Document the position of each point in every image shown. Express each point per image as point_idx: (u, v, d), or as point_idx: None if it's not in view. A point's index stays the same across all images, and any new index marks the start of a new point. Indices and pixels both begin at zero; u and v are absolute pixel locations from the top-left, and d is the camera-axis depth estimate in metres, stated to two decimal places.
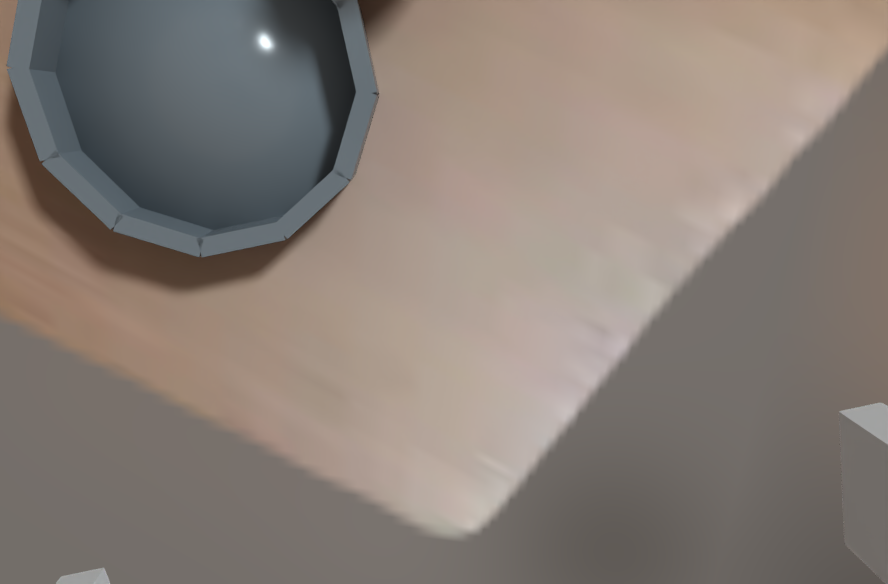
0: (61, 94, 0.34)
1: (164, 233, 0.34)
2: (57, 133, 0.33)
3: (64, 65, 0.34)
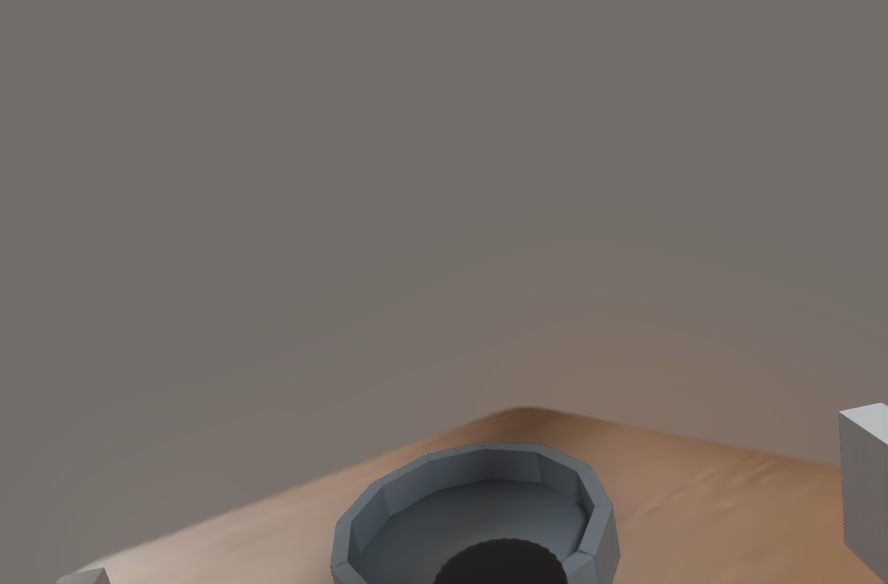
0: (526, 480, 0.48)
1: (401, 473, 0.48)
2: (497, 456, 0.48)
3: (542, 487, 0.47)
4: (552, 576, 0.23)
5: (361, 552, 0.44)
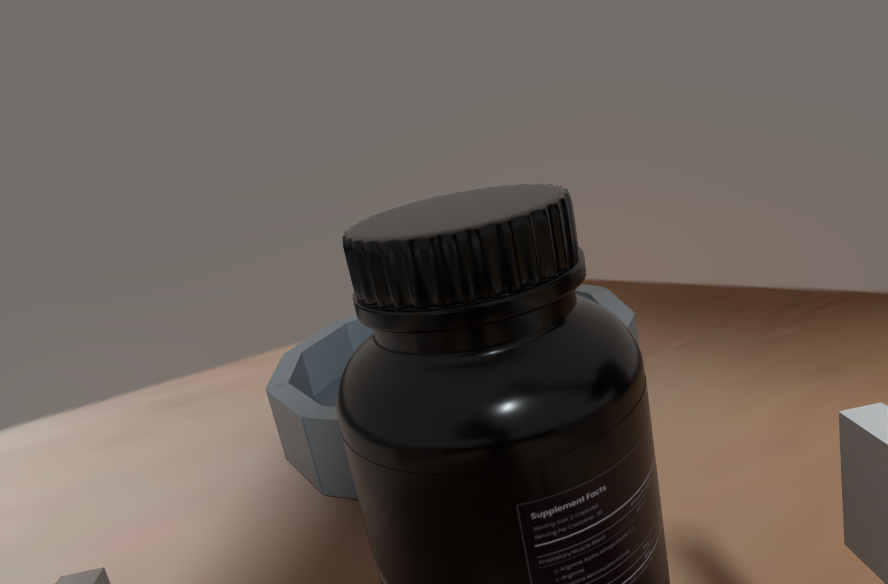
0: None
1: None
2: None
3: None
4: (546, 192, 0.13)
5: (315, 394, 0.35)
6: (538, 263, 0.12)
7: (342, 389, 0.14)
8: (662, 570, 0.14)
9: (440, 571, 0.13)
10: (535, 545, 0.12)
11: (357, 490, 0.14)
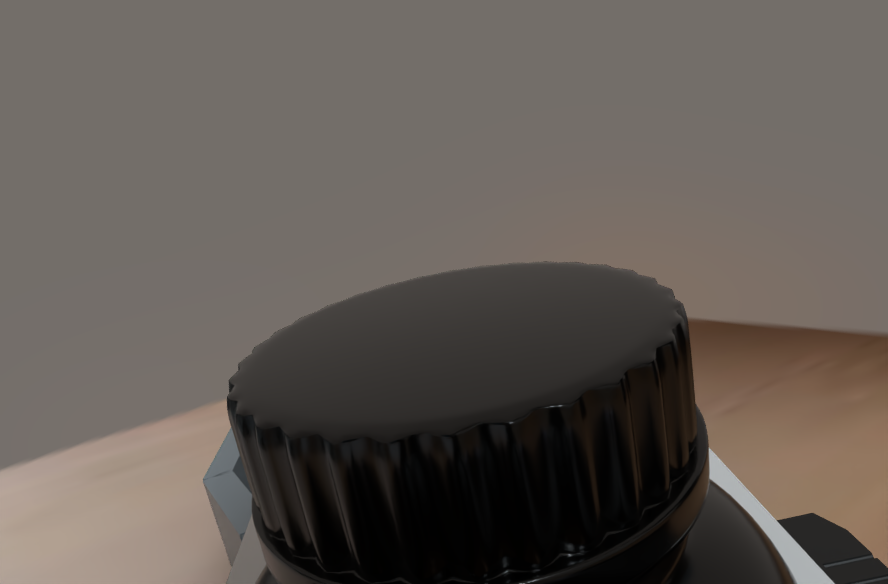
0: None
1: None
2: None
3: None
4: (633, 298, 0.07)
5: None
6: (637, 480, 0.05)
7: None
8: None
9: None
10: None
11: None
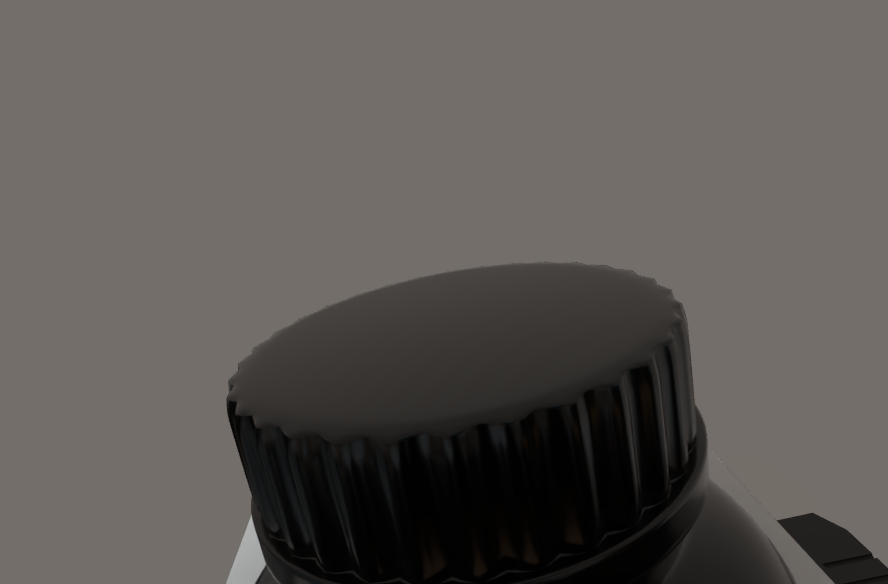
0: None
1: None
2: None
3: None
4: (632, 298, 0.07)
5: None
6: (636, 480, 0.05)
7: None
8: None
9: None
10: None
11: None
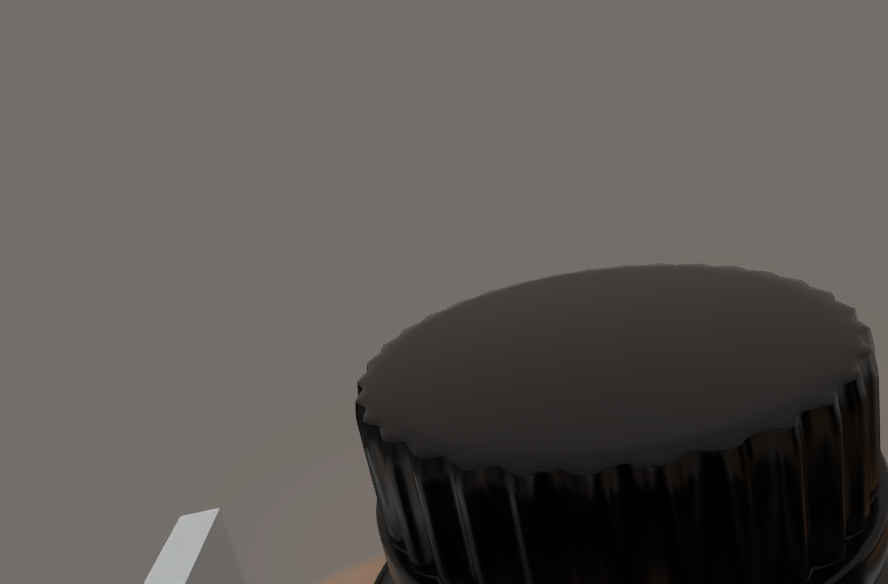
0: None
1: None
2: None
3: None
4: (793, 303, 0.06)
5: None
6: (844, 508, 0.05)
7: None
8: None
9: None
10: None
11: None
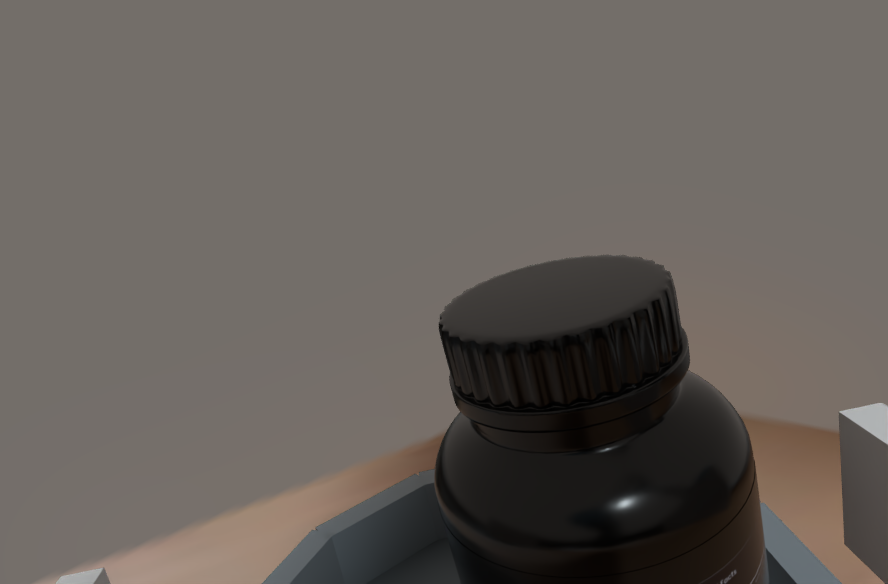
0: None
1: (369, 509, 0.25)
2: None
3: None
4: (644, 271, 0.13)
5: None
6: (657, 353, 0.12)
7: (448, 484, 0.14)
8: None
9: None
10: None
11: None
